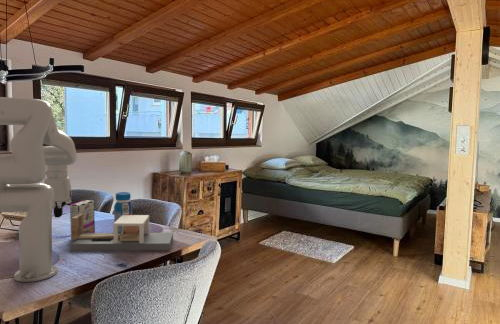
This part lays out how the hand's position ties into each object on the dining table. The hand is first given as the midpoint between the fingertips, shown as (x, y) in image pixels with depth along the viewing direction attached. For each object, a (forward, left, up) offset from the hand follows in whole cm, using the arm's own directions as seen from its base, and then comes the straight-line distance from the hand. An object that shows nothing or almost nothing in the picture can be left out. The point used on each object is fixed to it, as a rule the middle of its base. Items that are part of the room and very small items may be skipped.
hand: (58, 216), depth 149 cm
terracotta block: (-1, -31, -8) cm, 32 cm away
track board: (-1, -28, -12) cm, 31 cm away
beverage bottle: (+16, -23, -13) cm, 31 cm away
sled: (-1, -21, -9) cm, 23 cm away
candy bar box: (+11, -6, -13) cm, 18 cm away
